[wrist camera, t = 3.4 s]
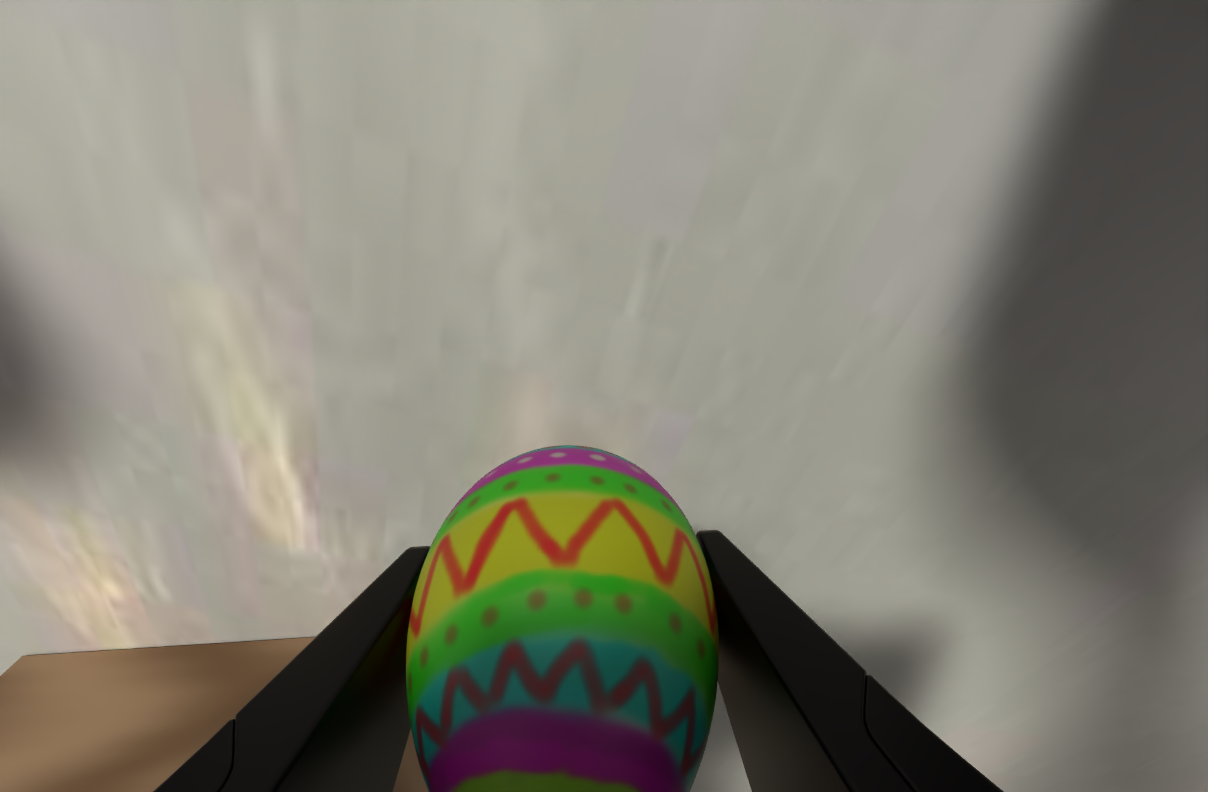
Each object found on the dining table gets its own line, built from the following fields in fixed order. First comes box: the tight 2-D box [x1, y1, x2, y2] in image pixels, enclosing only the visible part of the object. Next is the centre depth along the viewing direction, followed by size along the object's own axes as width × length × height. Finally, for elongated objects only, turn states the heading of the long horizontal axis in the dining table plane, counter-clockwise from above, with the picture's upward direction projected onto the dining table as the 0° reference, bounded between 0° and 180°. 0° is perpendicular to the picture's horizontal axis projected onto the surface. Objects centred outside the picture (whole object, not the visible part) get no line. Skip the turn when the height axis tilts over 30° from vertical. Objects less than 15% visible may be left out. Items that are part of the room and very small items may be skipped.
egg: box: [406, 445, 719, 792], centre depth 7 cm, size 5×5×6 cm
